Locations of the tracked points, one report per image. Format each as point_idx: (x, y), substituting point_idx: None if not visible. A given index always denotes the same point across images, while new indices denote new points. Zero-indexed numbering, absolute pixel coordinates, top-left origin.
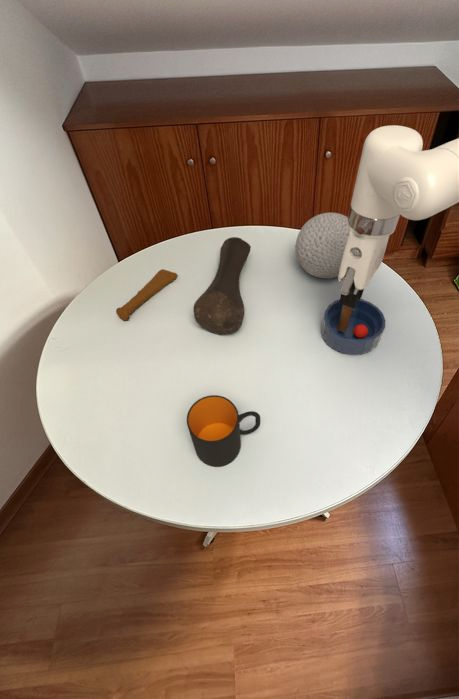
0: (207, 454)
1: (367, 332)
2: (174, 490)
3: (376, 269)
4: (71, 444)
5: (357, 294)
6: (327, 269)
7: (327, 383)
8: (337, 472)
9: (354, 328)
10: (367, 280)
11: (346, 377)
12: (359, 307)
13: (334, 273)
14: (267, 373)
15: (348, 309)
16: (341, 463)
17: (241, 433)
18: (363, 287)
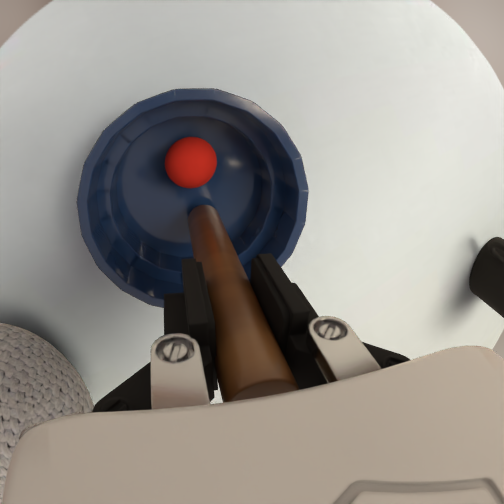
0: None
1: (193, 139)
2: None
3: (261, 445)
4: None
5: (306, 310)
6: (69, 387)
7: (375, 169)
8: (490, 101)
9: (199, 186)
10: (500, 393)
11: (343, 133)
12: (99, 219)
13: (50, 357)
14: (389, 286)
15: (239, 261)
16: (481, 98)
17: (498, 254)
18: (499, 356)
